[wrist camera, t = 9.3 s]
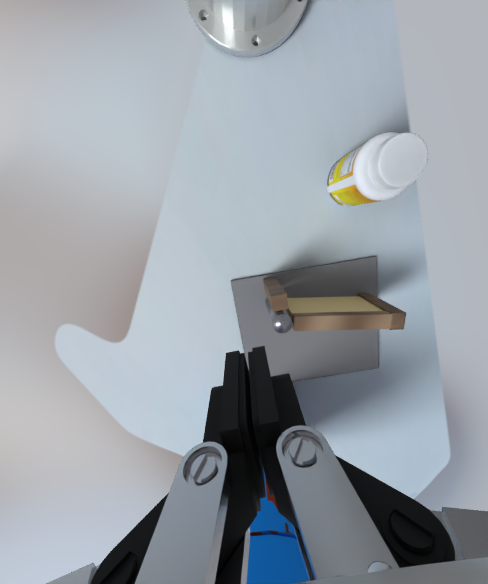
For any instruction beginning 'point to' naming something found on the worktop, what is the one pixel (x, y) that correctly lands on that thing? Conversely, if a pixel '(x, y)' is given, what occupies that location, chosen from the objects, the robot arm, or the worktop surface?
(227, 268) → the worktop surface
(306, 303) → the gate
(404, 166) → the supplement bottle
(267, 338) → the gate frame
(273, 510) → the thermos
